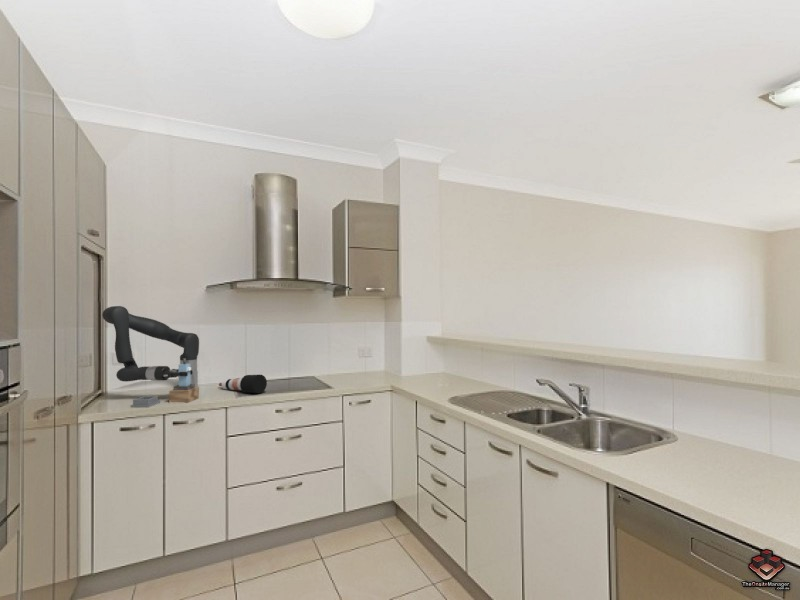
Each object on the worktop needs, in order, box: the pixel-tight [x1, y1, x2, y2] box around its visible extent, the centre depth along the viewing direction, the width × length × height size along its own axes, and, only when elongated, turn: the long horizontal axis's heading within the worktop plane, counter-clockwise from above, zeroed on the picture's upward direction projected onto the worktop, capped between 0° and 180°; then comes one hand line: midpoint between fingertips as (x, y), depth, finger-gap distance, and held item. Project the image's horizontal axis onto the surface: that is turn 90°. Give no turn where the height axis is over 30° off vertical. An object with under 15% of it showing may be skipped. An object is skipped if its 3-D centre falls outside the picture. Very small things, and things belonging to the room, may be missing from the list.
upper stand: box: [168, 384, 200, 404], centre depth 212 cm, size 10×10×8 cm
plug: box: [178, 358, 191, 386], centre depth 212 cm, size 4×5×15 cm
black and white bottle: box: [218, 374, 268, 394], centre depth 234 cm, size 10×34×10 cm, turn 61°
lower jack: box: [130, 395, 161, 408], centre depth 202 cm, size 9×9×4 cm
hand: (189, 373), depth 212 cm, fingers closed on plug, 4 cm apart
